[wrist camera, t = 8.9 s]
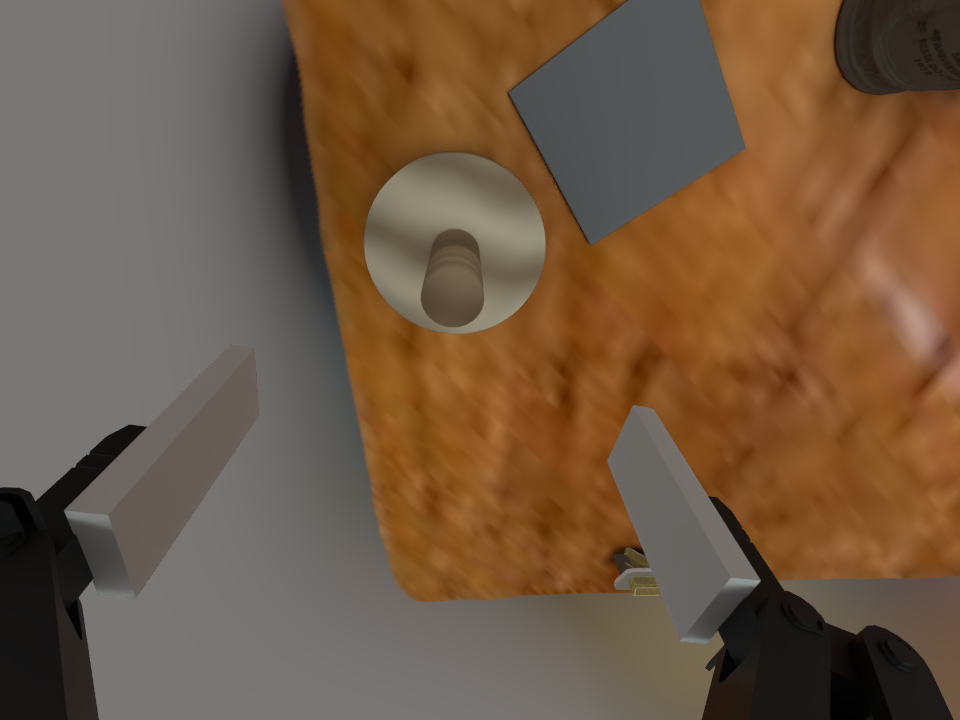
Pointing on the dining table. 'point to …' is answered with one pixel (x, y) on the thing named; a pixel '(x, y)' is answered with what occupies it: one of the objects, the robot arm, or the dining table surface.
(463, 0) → the dining table surface
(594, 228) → the mat
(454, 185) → the lid
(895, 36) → the beer stein
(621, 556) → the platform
